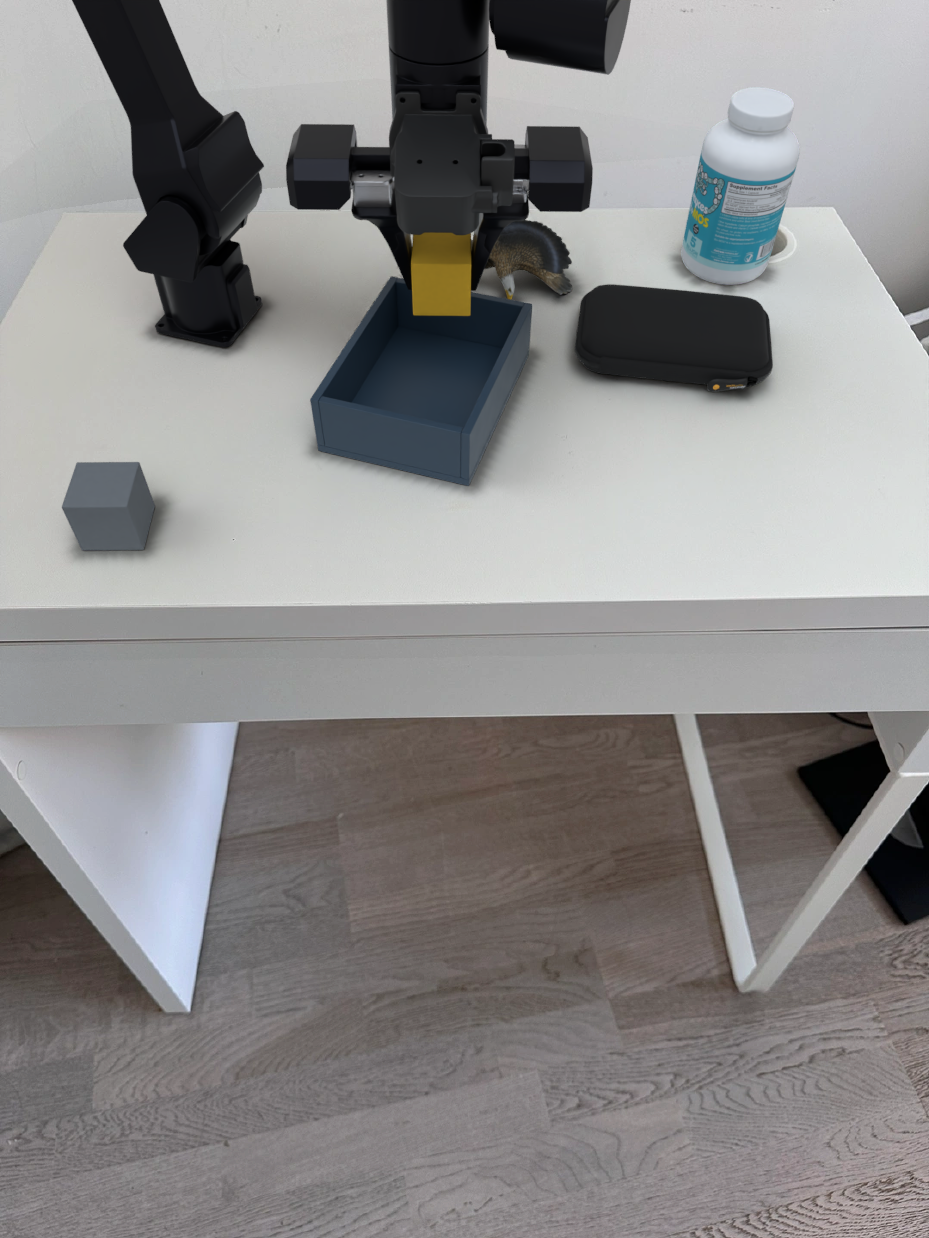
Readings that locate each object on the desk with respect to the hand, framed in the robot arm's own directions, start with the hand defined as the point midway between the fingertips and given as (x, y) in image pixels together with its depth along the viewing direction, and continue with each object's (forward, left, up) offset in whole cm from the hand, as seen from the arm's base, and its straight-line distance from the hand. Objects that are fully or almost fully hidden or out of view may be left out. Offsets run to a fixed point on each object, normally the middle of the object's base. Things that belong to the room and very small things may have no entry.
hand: (441, 287), depth 66 cm
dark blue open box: (0, -4, -7) cm, 8 cm away
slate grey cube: (-15, -22, -7) cm, 28 cm away
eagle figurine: (+2, +12, -8) cm, 15 cm away
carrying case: (+16, +7, -8) cm, 19 cm away
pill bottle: (+18, +21, -8) cm, 29 cm away
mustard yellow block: (0, 0, -1) cm, 1 cm away
